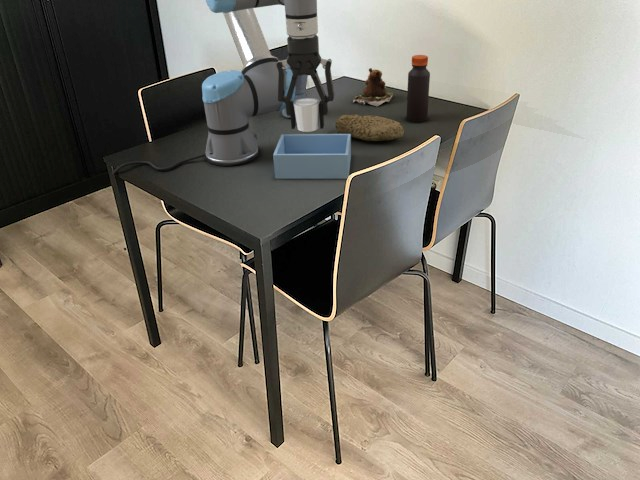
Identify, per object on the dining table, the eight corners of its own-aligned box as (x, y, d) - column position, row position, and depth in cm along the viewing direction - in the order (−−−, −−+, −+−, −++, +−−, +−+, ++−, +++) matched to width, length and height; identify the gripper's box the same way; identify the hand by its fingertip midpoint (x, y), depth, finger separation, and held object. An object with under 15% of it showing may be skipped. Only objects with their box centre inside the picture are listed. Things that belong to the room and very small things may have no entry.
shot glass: (290, 131, 143) (288, 104, 140) (301, 122, 149) (299, 96, 145) (315, 133, 141) (313, 107, 137) (324, 124, 146) (323, 98, 143)
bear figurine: (401, 96, 201) (402, 62, 195) (378, 108, 192) (379, 73, 185) (370, 91, 209) (370, 58, 202) (346, 102, 199) (346, 67, 192)
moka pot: (321, 113, 190) (318, 54, 179) (282, 124, 183) (277, 62, 172) (306, 106, 196) (302, 49, 186) (268, 116, 189) (262, 57, 179)
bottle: (421, 114, 185) (424, 53, 174) (431, 120, 179) (435, 57, 169) (402, 117, 183) (405, 55, 172) (412, 124, 178) (415, 60, 167)
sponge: (332, 141, 172) (380, 144, 157) (331, 115, 169) (379, 116, 155) (362, 136, 180) (409, 139, 165) (361, 112, 178) (409, 112, 163)
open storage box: (275, 178, 148) (273, 155, 144) (283, 156, 160) (281, 134, 157) (348, 178, 146) (348, 154, 142) (351, 156, 158) (350, 133, 155)
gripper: (259, 39, 131) (268, 132, 143) (342, 38, 128) (344, 132, 141) (265, 33, 137) (273, 122, 149) (344, 31, 135) (346, 121, 147)
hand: (307, 126), depth 145 cm, fingers closed on shot glass, 7 cm apart
